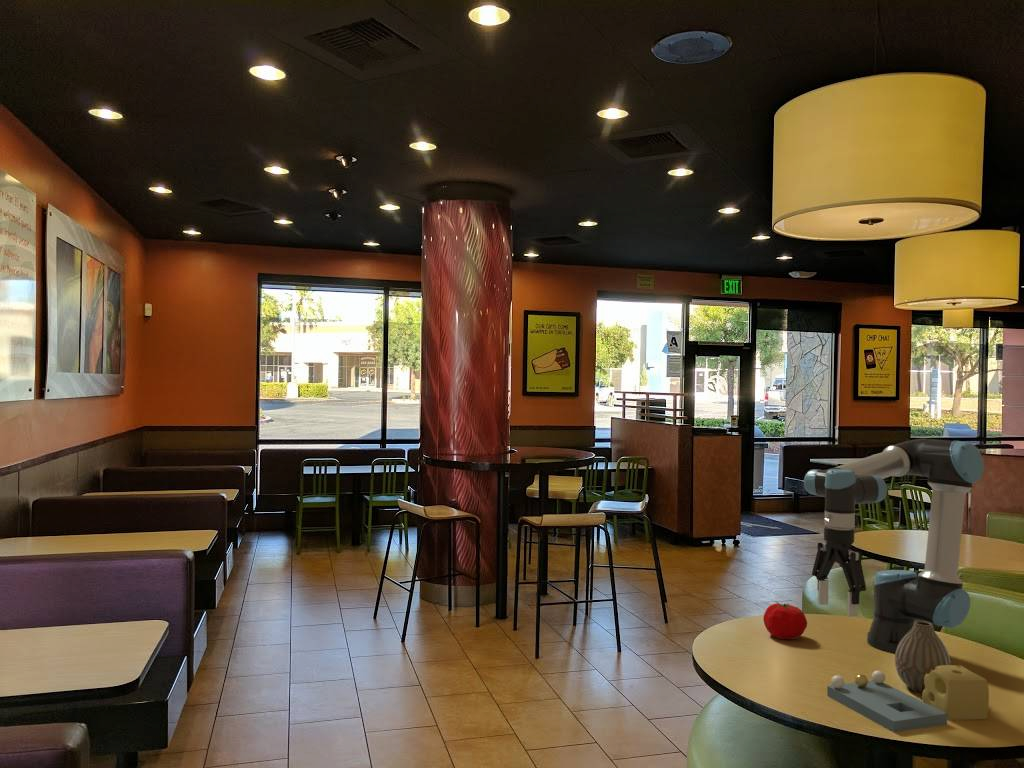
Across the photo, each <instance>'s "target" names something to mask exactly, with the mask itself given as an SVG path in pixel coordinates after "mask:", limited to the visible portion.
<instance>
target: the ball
mask: <svg viewBox="0 0 1024 768" xmlns="http://www.w3.org/2000/svg"><path fill="white" fill-rule="evenodd" d="M868 681H869V680H868V677H867V676H866V675H864V674H861V673H860V674H857V675H856V676H855V677H854V683H855V684H856V685H857V686H858V687H861V688H863V687H866V686H867V684H868Z"/></svg>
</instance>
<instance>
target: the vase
mask: <svg viewBox="0 0 1024 768" xmlns="http://www.w3.org/2000/svg"><path fill="white" fill-rule="evenodd" d="M894 654H895V655H894V666H895V670H896V673H897V675H898V677H899V679H900V680H901V681H902V682H903V684H905V686H907V688H908V689H909V690H911V691H914V692H917V693H921V694H922V693H923V690H925V684H924V677H925V675H926V674H929V673H930V672H931V671H932V670H935V668H936V667H937V666H942V665H952V664H951V656H950V654H949V651H948V649H947V647H946V645H945V644H944V642H943V641H942V639H941V638H940V636H939V634H937V633H936V631H935V629H934V624H933V623H930V622H926V621H923V620H916V621H915V622H914V625H913V627H912V628H911V630H910V631H908V632H907V633H906V634H905V636H904V637H903V638H902V639H901V640H900V642H899V644H898V646H897V649H896V653H895V652H894Z"/></svg>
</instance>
